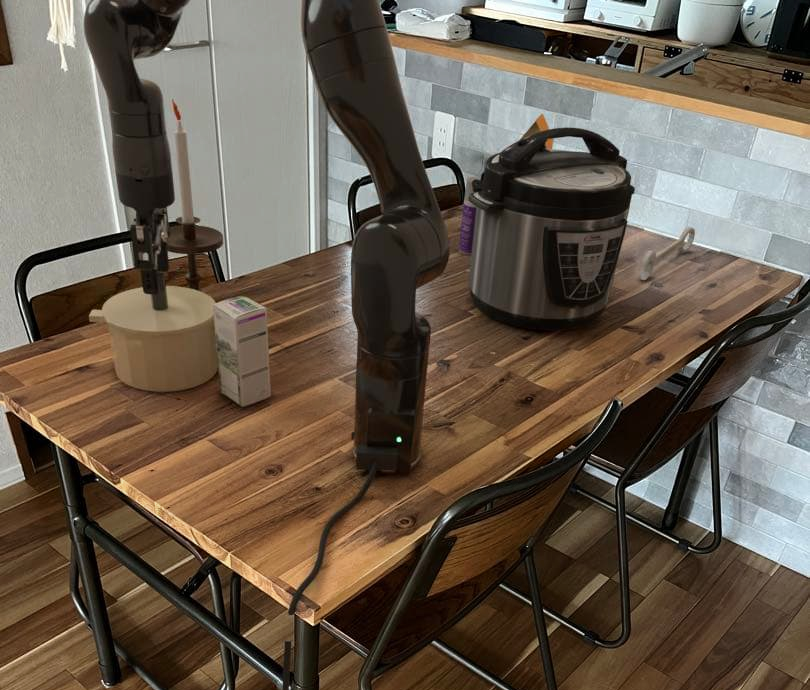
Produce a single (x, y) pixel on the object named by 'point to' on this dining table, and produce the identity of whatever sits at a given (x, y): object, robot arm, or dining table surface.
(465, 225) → the container
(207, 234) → the candlestick
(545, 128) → the orange juice
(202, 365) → the pot
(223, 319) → the syrup box
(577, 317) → the pressure cooker
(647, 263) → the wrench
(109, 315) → the lid
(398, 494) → the dining table surface
